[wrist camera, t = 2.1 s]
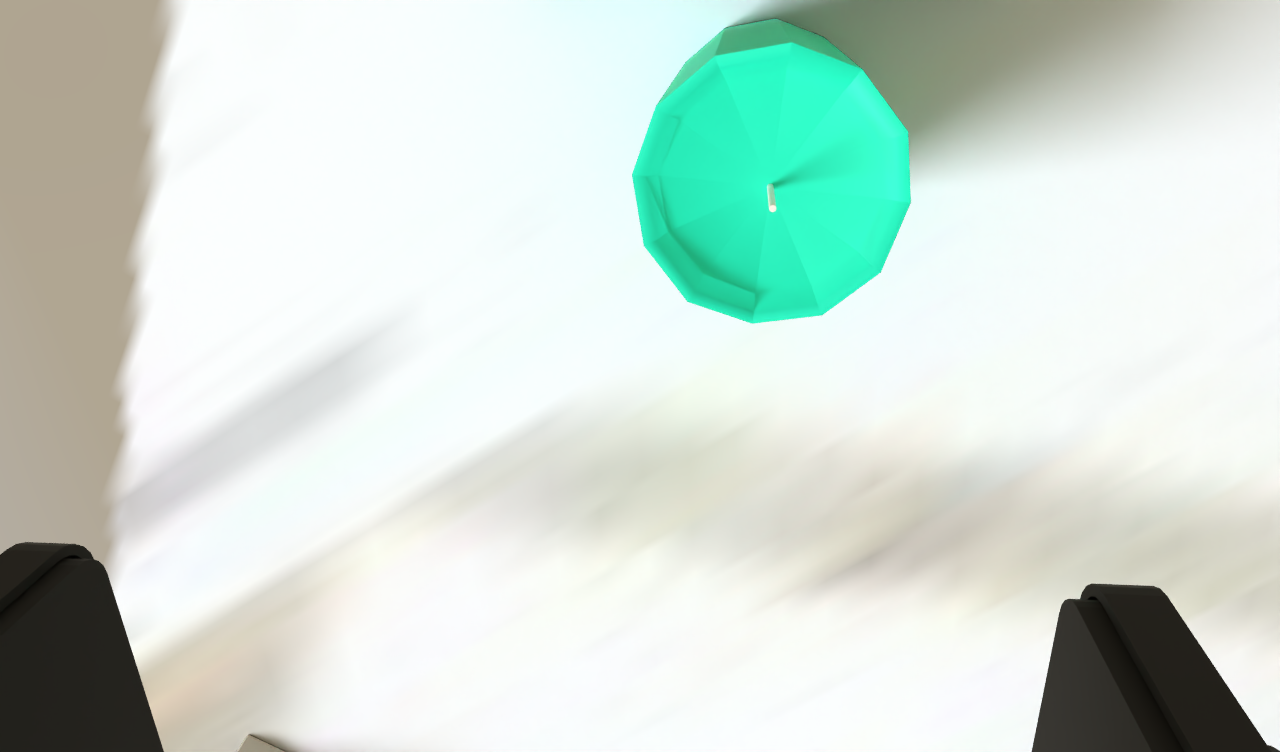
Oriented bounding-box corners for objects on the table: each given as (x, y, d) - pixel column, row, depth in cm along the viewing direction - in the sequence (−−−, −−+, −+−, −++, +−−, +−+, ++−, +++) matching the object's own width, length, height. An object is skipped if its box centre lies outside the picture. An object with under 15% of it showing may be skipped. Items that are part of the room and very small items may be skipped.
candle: (778, 249, 31) (797, 401, 20) (631, 141, 30) (564, 240, 19) (900, 96, 28) (997, 174, 17) (744, -25, 27) (743, -22, 17)
